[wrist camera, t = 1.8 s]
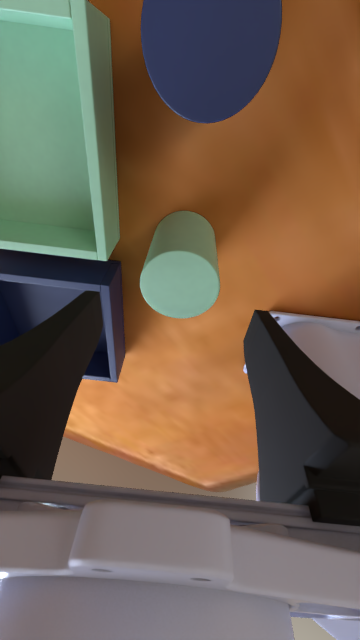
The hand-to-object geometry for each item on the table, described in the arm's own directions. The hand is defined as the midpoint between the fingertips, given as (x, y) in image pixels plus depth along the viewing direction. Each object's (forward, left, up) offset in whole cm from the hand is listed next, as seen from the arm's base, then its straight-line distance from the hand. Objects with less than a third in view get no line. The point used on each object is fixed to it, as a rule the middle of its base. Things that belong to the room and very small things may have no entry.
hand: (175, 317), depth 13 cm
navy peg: (0, -9, -9) cm, 13 cm away
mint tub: (+10, -5, -9) cm, 14 cm away
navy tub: (+10, +8, -9) cm, 15 cm away
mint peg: (0, 0, -9) cm, 9 cm away
